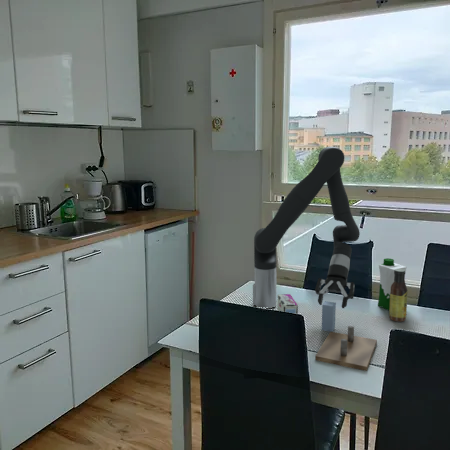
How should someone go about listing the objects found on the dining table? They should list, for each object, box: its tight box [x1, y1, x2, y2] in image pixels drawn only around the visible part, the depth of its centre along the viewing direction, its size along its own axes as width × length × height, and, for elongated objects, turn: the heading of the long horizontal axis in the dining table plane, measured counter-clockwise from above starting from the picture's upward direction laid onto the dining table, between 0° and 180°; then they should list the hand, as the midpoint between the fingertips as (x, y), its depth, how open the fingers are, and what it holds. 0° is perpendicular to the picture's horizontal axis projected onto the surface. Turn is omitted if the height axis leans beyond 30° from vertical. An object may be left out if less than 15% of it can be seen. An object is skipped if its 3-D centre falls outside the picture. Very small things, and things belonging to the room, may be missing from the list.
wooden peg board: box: [314, 325, 378, 372], centre depth 146 cm, size 16×20×6 cm
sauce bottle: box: [388, 269, 409, 323], centre depth 170 cm, size 7×6×20 cm
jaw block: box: [321, 300, 337, 333], centre depth 163 cm, size 4×4×10 cm
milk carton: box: [377, 258, 407, 311], centre depth 182 cm, size 9×9×20 cm
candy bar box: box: [276, 293, 299, 314], centre depth 152 cm, size 11×5×16 cm, turn 5°
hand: (331, 305), depth 165 cm, fingers open, 8 cm apart
